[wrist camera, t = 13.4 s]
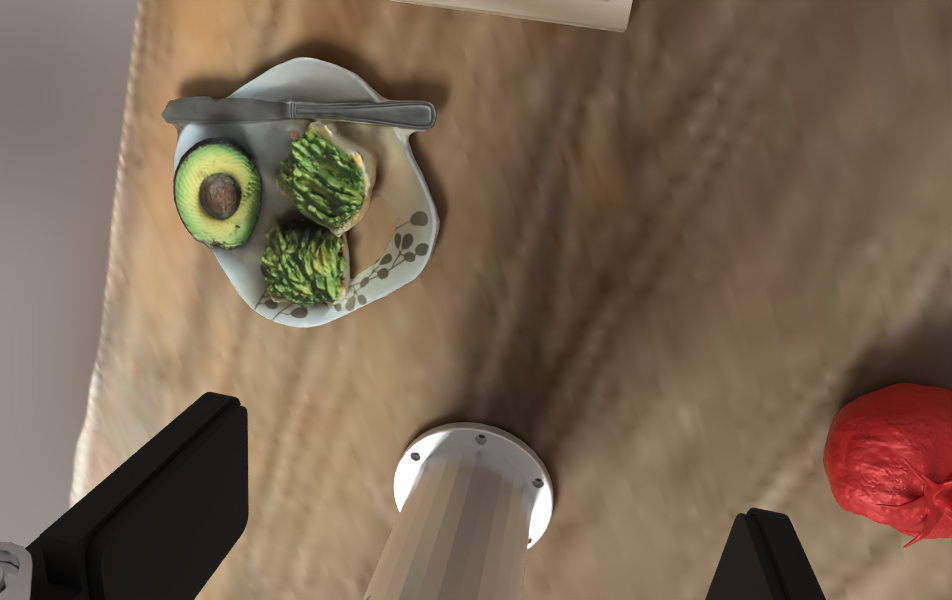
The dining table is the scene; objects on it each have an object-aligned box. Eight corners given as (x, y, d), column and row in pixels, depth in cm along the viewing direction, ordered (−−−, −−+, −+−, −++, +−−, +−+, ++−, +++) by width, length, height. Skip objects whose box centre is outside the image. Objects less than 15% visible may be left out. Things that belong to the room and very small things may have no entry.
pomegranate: (805, 373, 41) (861, 450, 32) (977, 358, 39) (1087, 437, 30) (809, 497, 44) (861, 598, 35) (970, 490, 42) (1067, 597, 33)
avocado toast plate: (381, -19, 37) (355, -30, 33) (505, 244, 41) (496, 264, 37) (148, 122, 43) (99, 129, 38) (279, 340, 47) (249, 367, 43)
